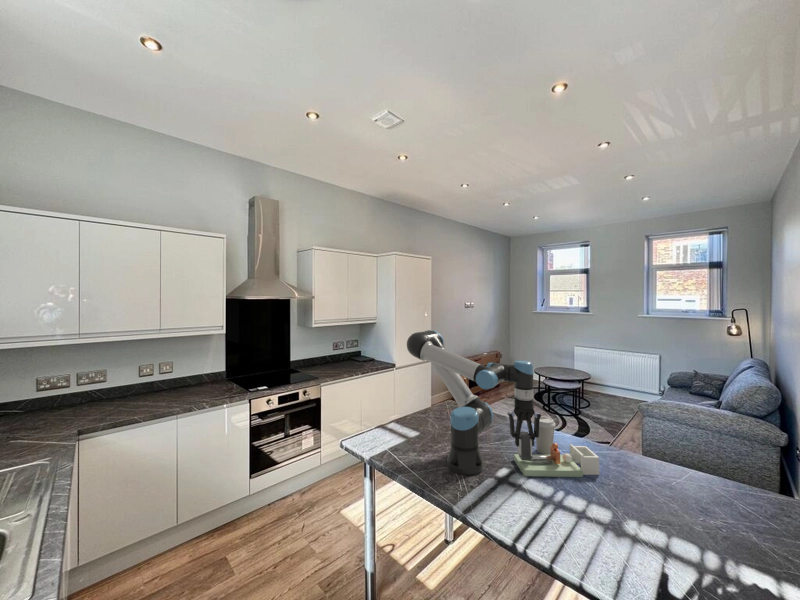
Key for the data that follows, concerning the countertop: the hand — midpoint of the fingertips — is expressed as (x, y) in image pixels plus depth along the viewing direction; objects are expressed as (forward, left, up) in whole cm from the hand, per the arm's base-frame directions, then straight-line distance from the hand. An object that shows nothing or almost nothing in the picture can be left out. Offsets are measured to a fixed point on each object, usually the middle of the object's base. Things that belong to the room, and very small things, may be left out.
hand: (524, 453), depth 132 cm
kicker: (+6, 0, -3) cm, 7 cm away
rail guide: (+7, 0, -4) cm, 7 cm away
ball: (+18, 0, -2) cm, 18 cm away
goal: (+24, 0, -6) cm, 25 cm away
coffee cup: (+14, +14, -6) cm, 21 cm away
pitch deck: (+9, 0, -6) cm, 11 cm away
